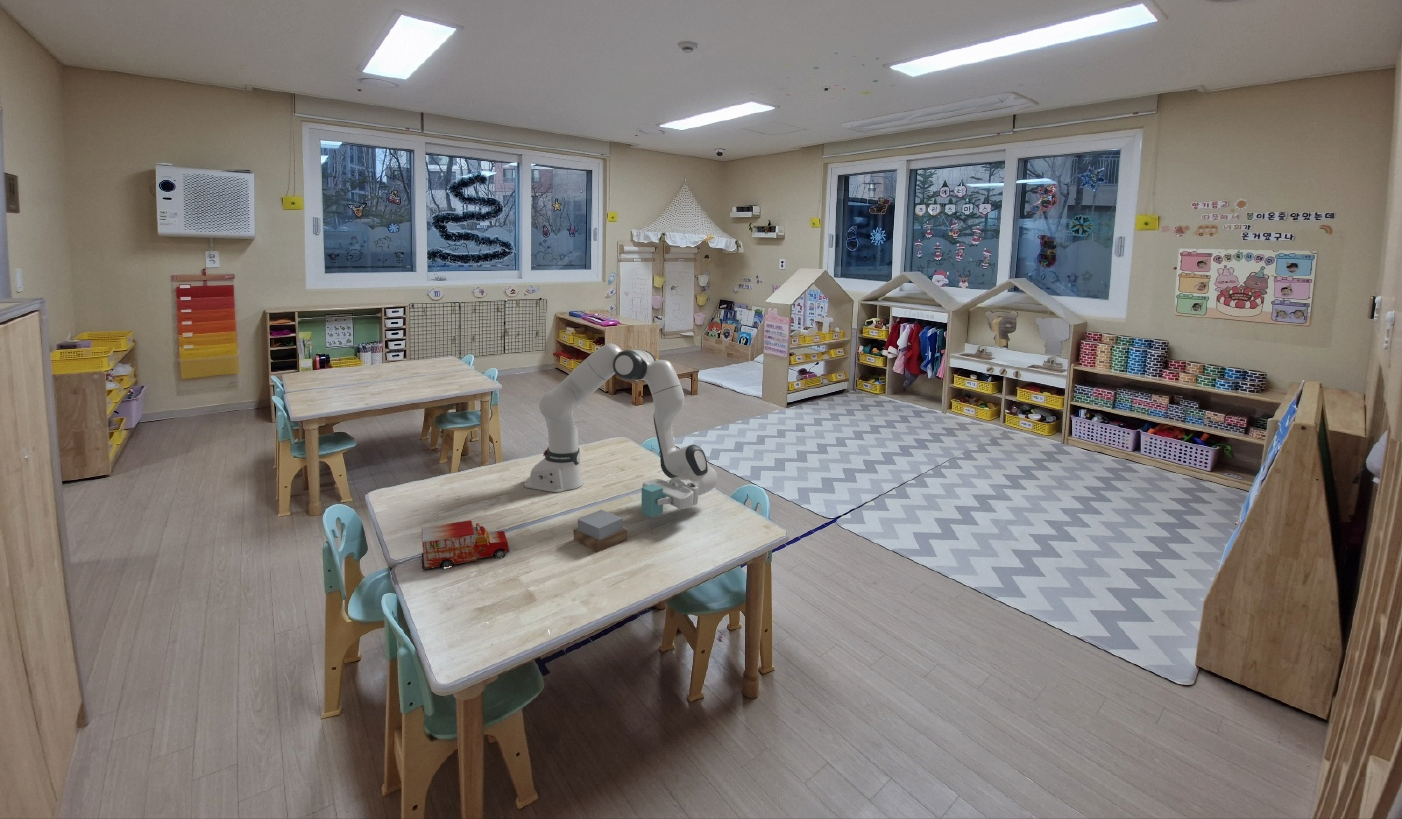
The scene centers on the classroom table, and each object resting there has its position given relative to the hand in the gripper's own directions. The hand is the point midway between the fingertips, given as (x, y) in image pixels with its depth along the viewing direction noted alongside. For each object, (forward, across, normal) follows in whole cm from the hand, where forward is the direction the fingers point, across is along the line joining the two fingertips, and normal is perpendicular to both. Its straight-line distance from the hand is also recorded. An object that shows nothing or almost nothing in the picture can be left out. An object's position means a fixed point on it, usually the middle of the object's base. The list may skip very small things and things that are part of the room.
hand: (650, 499), depth 221 cm
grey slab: (+18, -3, +6) cm, 20 cm away
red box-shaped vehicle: (+54, -22, +11) cm, 59 cm away
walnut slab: (+18, -3, +10) cm, 21 cm away
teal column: (-1, 0, +5) cm, 5 cm away
